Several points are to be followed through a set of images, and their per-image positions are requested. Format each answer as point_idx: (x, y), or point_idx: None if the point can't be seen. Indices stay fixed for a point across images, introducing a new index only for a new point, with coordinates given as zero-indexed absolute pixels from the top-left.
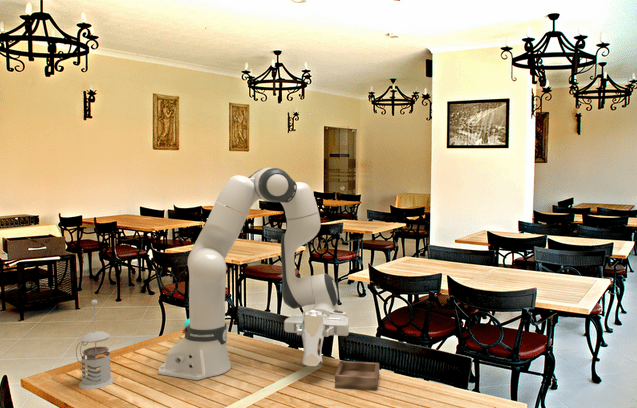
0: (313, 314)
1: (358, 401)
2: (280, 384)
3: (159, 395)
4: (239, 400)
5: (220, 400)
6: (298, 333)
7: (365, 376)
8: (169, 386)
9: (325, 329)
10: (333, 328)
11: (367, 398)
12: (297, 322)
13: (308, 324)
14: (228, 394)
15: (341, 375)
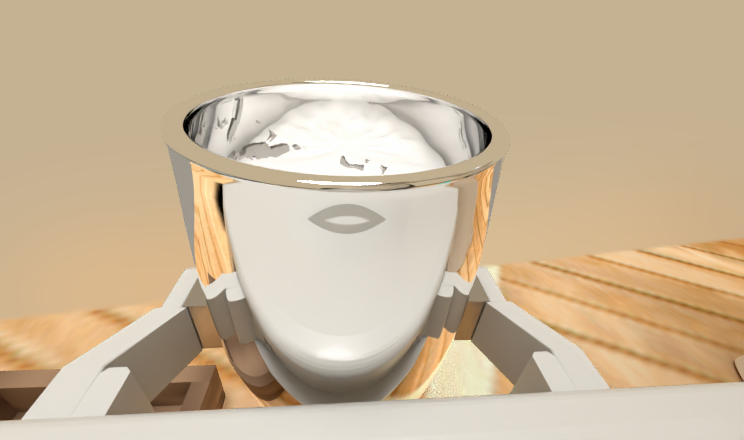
0: (383, 253)
1: (160, 307)
2: (457, 386)
3: (678, 271)
4: (496, 273)
5: (536, 268)
6: None
7: (42, 385)
8: (733, 312)
9: (204, 304)
10: (58, 393)
11: (115, 330)
12: (626, 389)
13: (365, 163)
14: (549, 294)
15: (179, 375)
